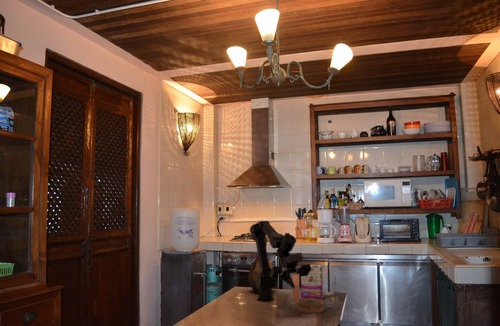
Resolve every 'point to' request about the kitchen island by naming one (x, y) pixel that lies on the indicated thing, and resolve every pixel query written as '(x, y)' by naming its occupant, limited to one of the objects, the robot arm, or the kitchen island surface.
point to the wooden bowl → (311, 305)
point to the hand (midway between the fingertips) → (297, 287)
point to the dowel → (296, 288)
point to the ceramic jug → (256, 272)
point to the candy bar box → (312, 283)
